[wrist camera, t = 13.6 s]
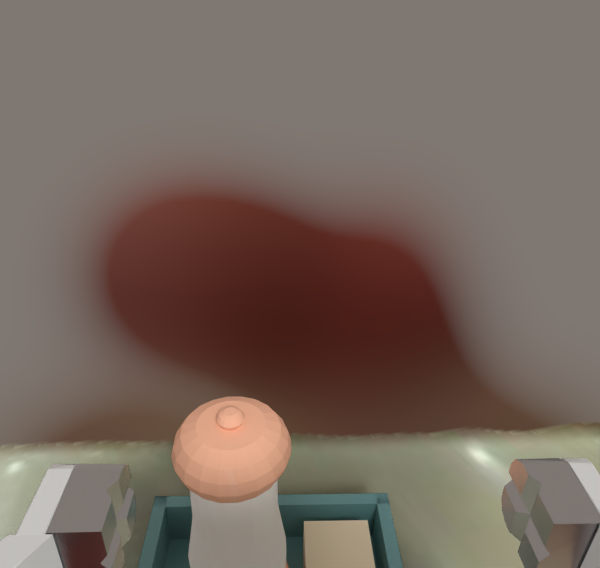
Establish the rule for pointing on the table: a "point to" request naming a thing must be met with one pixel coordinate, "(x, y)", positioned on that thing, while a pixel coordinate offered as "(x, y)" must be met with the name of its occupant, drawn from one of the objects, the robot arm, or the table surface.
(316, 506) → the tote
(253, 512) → the salt shaker
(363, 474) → the table surface
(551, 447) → the table surface
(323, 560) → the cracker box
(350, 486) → the table surface
